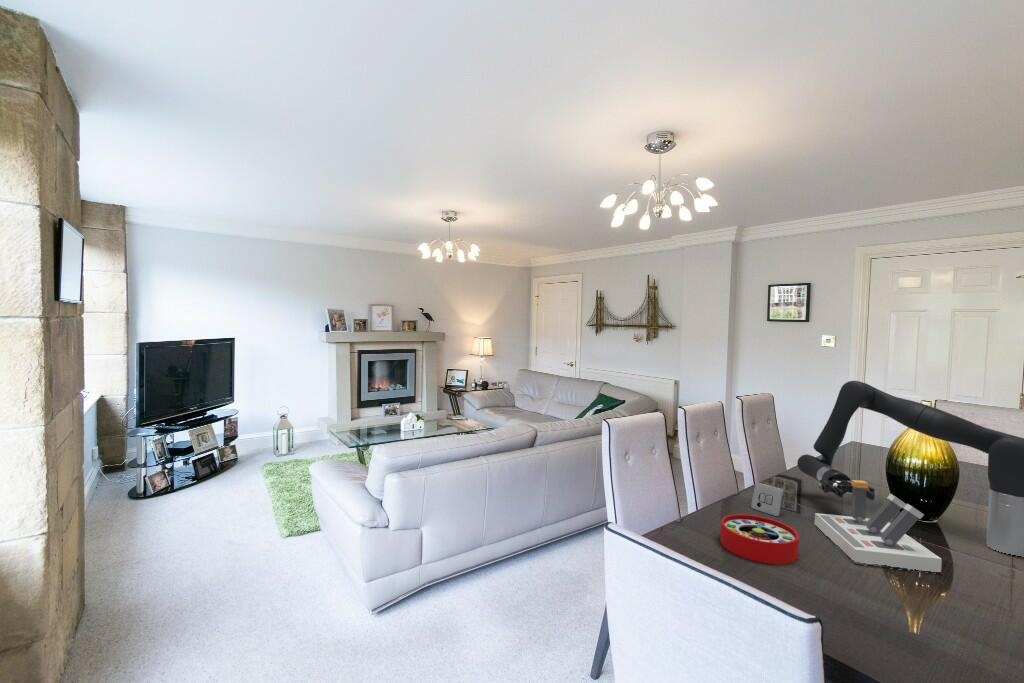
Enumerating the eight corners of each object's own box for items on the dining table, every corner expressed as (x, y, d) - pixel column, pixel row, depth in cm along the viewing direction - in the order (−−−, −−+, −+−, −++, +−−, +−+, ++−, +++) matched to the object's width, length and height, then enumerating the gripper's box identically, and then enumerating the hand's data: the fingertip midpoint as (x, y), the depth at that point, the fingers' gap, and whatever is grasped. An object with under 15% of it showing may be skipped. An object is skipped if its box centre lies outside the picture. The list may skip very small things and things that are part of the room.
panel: (884, 532, 149) (885, 518, 149) (940, 574, 123) (941, 557, 123) (814, 525, 153) (815, 512, 153) (854, 564, 127) (855, 548, 127)
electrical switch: (750, 508, 166) (752, 482, 166) (757, 507, 169) (760, 481, 169) (777, 517, 159) (780, 490, 159) (785, 516, 162) (787, 489, 162)
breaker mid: (872, 532, 139) (901, 501, 137) (877, 536, 136) (906, 504, 135) (862, 525, 140) (890, 493, 138) (867, 528, 137) (895, 496, 135)
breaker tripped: (861, 519, 147) (863, 480, 146) (866, 522, 144) (868, 483, 144) (849, 518, 147) (851, 479, 147) (853, 521, 145) (855, 482, 144)
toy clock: (716, 532, 133) (725, 509, 150) (716, 552, 133) (724, 527, 150) (799, 550, 122) (798, 524, 140) (798, 572, 123) (797, 543, 140)
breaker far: (888, 544, 131) (918, 511, 129) (893, 548, 129) (924, 514, 127) (877, 536, 132) (906, 503, 130) (882, 540, 129) (912, 506, 127)
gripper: (810, 467, 164) (831, 481, 148) (857, 470, 161) (883, 486, 145) (810, 488, 164) (830, 505, 148) (856, 492, 161) (882, 510, 145)
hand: (856, 495), depth 147 cm, fingers open, 8 cm apart
